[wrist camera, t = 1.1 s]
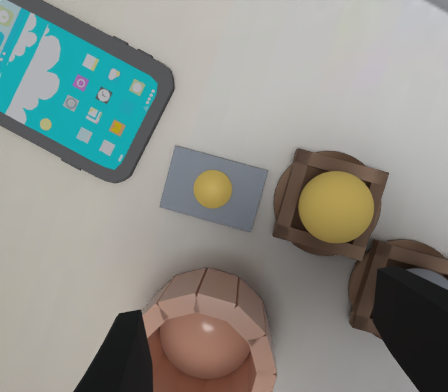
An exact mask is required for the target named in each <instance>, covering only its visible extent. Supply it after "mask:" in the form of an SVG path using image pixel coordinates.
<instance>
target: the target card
mask: <svg viewBox="0 0 448 392" xmlns="http://www.w3.org/2000/svg"><path fill="white" fill-rule="evenodd" d="M267 172H268V171H267V170H263V169H259V168H256V167H252V166H248V165H245V164H241V163H237V162H233V161H230V160H226V159H222V158H219V157H215V156H211V155H208V154H204V153H200V152H197V151H193V150H189V149H186V148H182V147H178V146H175V148H174V152H173V156H172V160H171V164H170V168H169V172H168V176H167V179H166V183H165V187H164V191H163V195H162V199H161V203H160V207H161V208H165V209H169V210H172V211H176V212H179V213H183V214H186V215H190V216H194V217H197V218H201V219H204V220H208V221H212V222H215V223H219V224H222V225H226V226H229V227H233V228H237V229H240V230H244V231H247V232H251V229H252V226H253V222H254V219H255V215H256V212H257V208H258V204H259V201H260V197H261V194H262V190H263V187H264V183H265V179H266V176H267Z"/></svg>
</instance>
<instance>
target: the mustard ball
mask: <svg viewBox="0 0 448 392" xmlns="http://www.w3.org/2000/svg"><path fill="white" fill-rule="evenodd" d="M298 208H299V216H300V219H301V221H302V223H303V225H304V226H305V228H306V229H307V230H308V232H309V233H311V234H312V235H313V236H314V237H316V238H318V239H320V240H322V241H325V242H328V243H345V242H349V241H351V240H354V239H356V238H357V237H359V236H360V235H361V234H362V233H363V232H364V231H365V230H366V229H367V228H368V226H369V225H370V223H371V220H372V218H373V214H374V202H373V197H372V194H371V192H370V190H369V189H368V187H367V186H366V185H365V183H364V182H363V181H361V180H360V179H359V178H358V177H356V176H354V175H352V174H350V173H347V172H342V171H330V172H325V173H322V174H320V175H318V176H316V177H314V178H313V179H312V180H311V181H309V182H308V183H307V185H306V186H305V187H304V189H303V191H302V193H301V195H300V198H299V205H298Z"/></svg>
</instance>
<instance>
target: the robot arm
mask: <svg viewBox="0 0 448 392" xmlns="http://www.w3.org/2000/svg"><path fill="white" fill-rule="evenodd" d="M373 323H374V325H375V327H376V329H377V331H378V332H379V334H380V336H381V338H382V340H383V341H384V343H385V345H386V346H387V348H388V350H389V351H390V353H391V354H392V355H393V357H394V358H395V360H396V361H397V362H398V364H399V365H400V366H401V368H402V369H403V370H404V372H405V373H406V374H407V376H408V377H409V378H410V380H411V381H412V382H413V384H414V385H415V386H416V388H417V389H418V390H419V392H448V290H447V289H445V288H443V287H441V286H439V285H437V284H435V283H433V282H431V281H429V280H427V279H424V278H422V277H420V276H418V275H416V274H414V273H412V272H410V271H407V270H405V269H403V268H400V267H398V266H391V267H385V268H379V269H377V278H376V289H375V299H374V310H373ZM73 392H153V363H152V358H151V354H150V349H149V344H148V340H147V335H146V330H145V326H144V321H143V316H142V312H141V310H136V311H130V312H125V313H119V315H118V316H117V317H116V319H115V321H114V323H113V325H112V327H111V329H110V331H109V332H108V334H107V336H106V338H105V340H104V342H103V344H102V345H101V347H100V349H99V351H98V353H97V354H96V356H95V358H94V359H93V361H92V363H91V364H90V366H89V368H88V369H87V371H86V373H85V374H84V376H83V378H82V379H81V381H80V382H79V384H78V385H77V387H76V388H75V390H74V391H73Z"/></svg>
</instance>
